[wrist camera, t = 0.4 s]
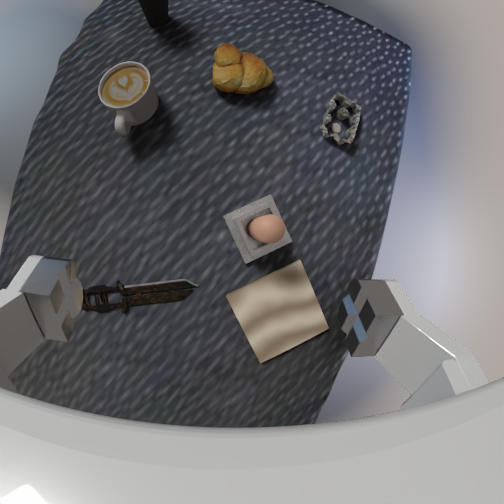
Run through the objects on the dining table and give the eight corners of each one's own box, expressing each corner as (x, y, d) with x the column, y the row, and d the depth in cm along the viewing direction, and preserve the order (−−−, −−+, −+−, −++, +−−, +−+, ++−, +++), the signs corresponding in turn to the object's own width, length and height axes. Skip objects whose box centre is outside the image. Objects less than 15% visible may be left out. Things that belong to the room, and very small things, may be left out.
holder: (290, 241, 60) (297, 242, 55) (244, 263, 59) (248, 266, 54) (269, 194, 59) (275, 191, 54) (223, 216, 58) (224, 215, 53)
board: (326, 326, 63) (328, 328, 61) (259, 360, 61) (260, 363, 60) (298, 259, 61) (300, 260, 59) (225, 295, 59) (226, 296, 58)
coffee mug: (123, 80, 53) (111, 58, 43) (165, 88, 54) (158, 65, 44) (100, 136, 53) (82, 121, 43) (142, 146, 55) (130, 130, 45)
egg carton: (344, 149, 61) (352, 145, 57) (314, 132, 59) (320, 127, 55) (358, 112, 60) (367, 106, 56) (330, 95, 59) (337, 88, 55)
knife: (198, 277, 59) (197, 278, 57) (200, 309, 59) (199, 311, 58) (79, 280, 55) (77, 281, 54) (83, 311, 56) (80, 312, 54)
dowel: (273, 234, 59) (289, 236, 47) (252, 244, 58) (263, 248, 46) (263, 213, 58) (277, 209, 46) (242, 223, 58) (251, 221, 46)
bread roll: (274, 70, 57) (283, 52, 49) (265, 107, 57) (273, 91, 50) (217, 56, 55) (218, 36, 47) (204, 92, 56) (204, 75, 48)
